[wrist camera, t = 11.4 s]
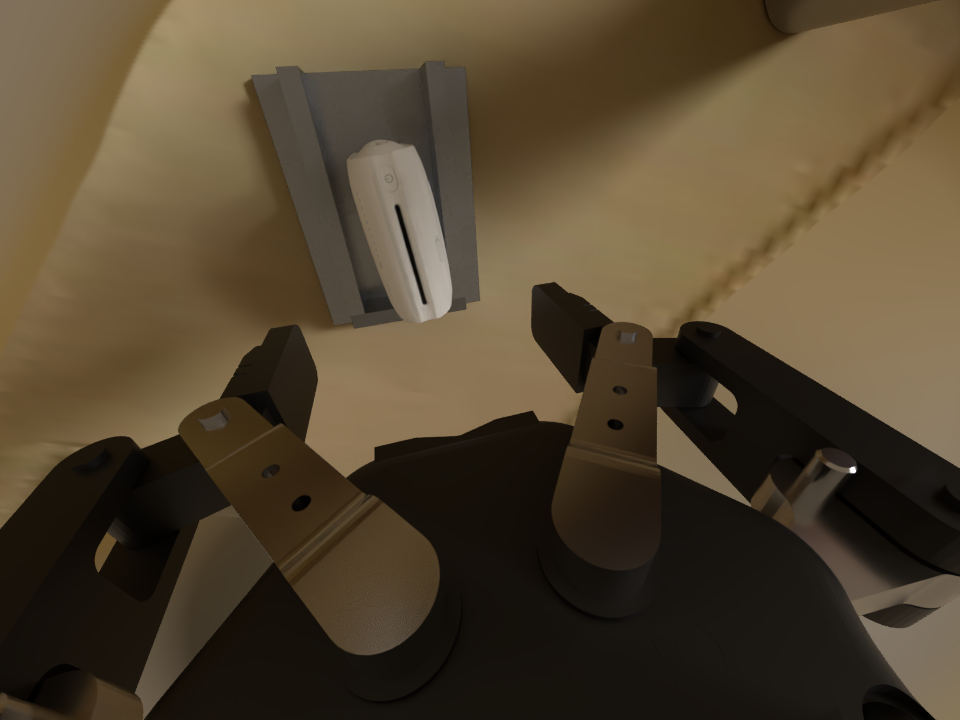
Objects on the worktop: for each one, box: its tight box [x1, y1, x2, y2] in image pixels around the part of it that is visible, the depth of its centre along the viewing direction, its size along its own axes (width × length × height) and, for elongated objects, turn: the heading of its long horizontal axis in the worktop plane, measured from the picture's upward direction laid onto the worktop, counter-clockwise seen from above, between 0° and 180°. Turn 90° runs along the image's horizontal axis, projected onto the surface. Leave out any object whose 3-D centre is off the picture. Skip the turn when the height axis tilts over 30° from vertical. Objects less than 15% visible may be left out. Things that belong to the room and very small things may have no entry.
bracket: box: [251, 61, 480, 329], centre depth 27 cm, size 14×18×4 cm
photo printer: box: [347, 140, 452, 323], centre depth 23 cm, size 10×4×12 cm, turn 9°
